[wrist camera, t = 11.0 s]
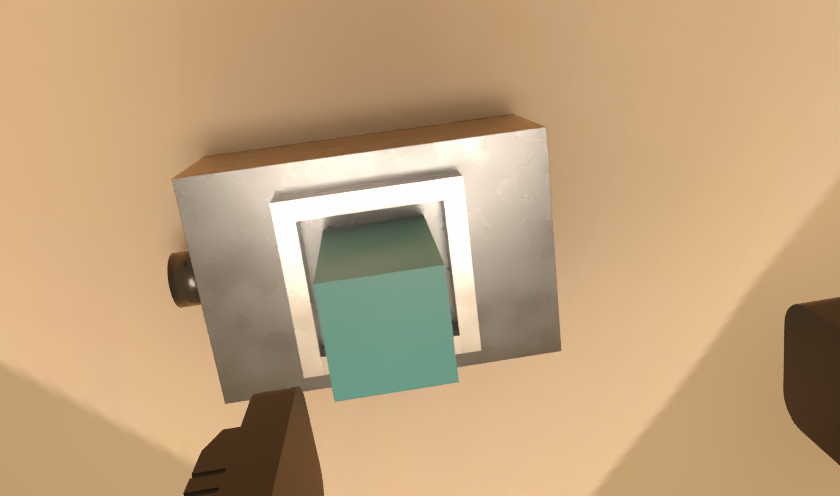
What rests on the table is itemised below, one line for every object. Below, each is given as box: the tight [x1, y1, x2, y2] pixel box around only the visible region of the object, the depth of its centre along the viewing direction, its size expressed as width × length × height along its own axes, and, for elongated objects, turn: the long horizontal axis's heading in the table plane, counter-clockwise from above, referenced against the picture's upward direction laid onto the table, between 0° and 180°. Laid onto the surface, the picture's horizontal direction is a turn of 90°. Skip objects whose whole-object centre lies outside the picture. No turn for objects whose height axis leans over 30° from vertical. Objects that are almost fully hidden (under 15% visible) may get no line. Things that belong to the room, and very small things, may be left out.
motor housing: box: [168, 114, 561, 404], centre depth 36 cm, size 20×12×8 cm, turn 97°
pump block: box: [313, 215, 459, 402], centre depth 29 cm, size 5×5×8 cm
